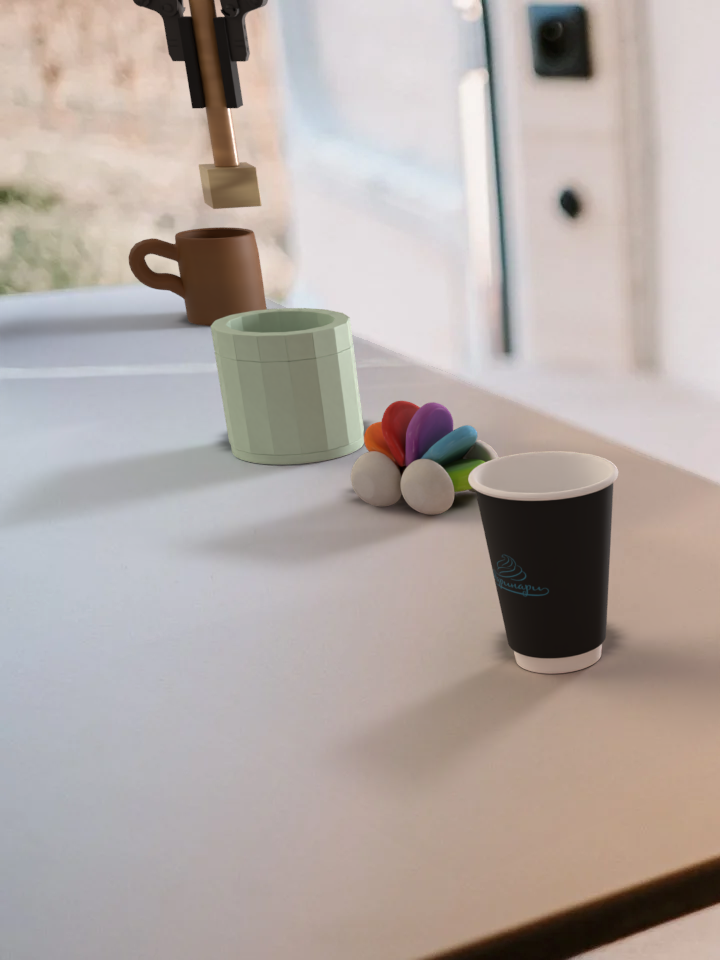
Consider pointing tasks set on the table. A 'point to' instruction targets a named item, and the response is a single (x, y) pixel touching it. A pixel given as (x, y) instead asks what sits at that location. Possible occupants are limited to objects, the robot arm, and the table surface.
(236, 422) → the jar
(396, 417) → the rainbow petal wheeled toy
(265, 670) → the table surface
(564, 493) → the dixie cup
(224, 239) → the mug
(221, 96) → the brush
